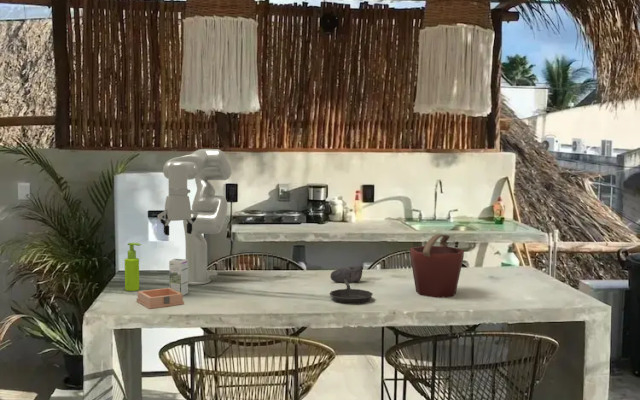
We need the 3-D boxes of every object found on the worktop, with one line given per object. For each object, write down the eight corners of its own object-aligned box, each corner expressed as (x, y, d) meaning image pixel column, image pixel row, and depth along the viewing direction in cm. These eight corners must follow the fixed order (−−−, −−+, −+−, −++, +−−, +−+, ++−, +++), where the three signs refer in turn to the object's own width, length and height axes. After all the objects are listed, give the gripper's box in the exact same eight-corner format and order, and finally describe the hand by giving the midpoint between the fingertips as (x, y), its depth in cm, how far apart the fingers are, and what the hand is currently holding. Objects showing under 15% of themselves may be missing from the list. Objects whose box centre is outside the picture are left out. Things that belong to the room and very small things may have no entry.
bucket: (433, 284, 310) (434, 229, 308) (475, 293, 294) (477, 235, 292) (398, 293, 293) (400, 234, 291) (441, 302, 277) (443, 240, 275)
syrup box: (188, 293, 288) (188, 259, 287) (181, 296, 282) (180, 261, 281) (176, 292, 290) (176, 258, 288) (168, 295, 284) (168, 260, 283)
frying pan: (331, 305, 271) (331, 296, 270) (324, 287, 302) (324, 279, 302) (376, 305, 272) (376, 295, 272) (364, 287, 304) (365, 279, 303)
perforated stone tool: (330, 283, 310) (331, 268, 310) (329, 281, 315) (329, 266, 315) (363, 283, 312) (364, 268, 311) (362, 281, 317) (362, 266, 316)
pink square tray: (170, 297, 281) (170, 287, 280) (184, 304, 269) (184, 294, 269) (136, 301, 273) (136, 291, 272) (149, 308, 261) (149, 298, 261)
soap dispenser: (137, 291, 290) (137, 244, 288) (122, 290, 291) (121, 243, 289) (144, 288, 296) (143, 242, 294) (129, 287, 297) (128, 241, 295)
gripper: (193, 191, 290) (193, 231, 291) (154, 192, 280) (154, 234, 282) (201, 192, 284) (201, 234, 285) (161, 194, 274) (161, 236, 276)
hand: (178, 234), depth 284 cm, fingers open, 9 cm apart
